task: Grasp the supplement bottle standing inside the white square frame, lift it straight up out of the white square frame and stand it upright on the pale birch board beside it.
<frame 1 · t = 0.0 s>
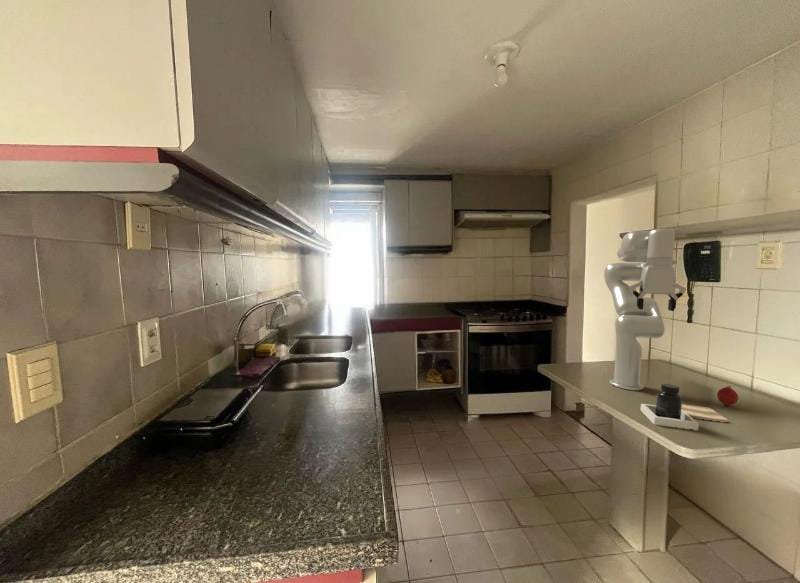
hand: (655, 309, 124), 37 cm above the countertop, tool pointing down, fingers open, 9 cm apart
supplement bottle: (667, 420, 116), resting in white square frame
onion: (726, 406, 130), on the countertop
board: (697, 413, 122), on the countertop
white square frame: (667, 419, 116), on the countertop
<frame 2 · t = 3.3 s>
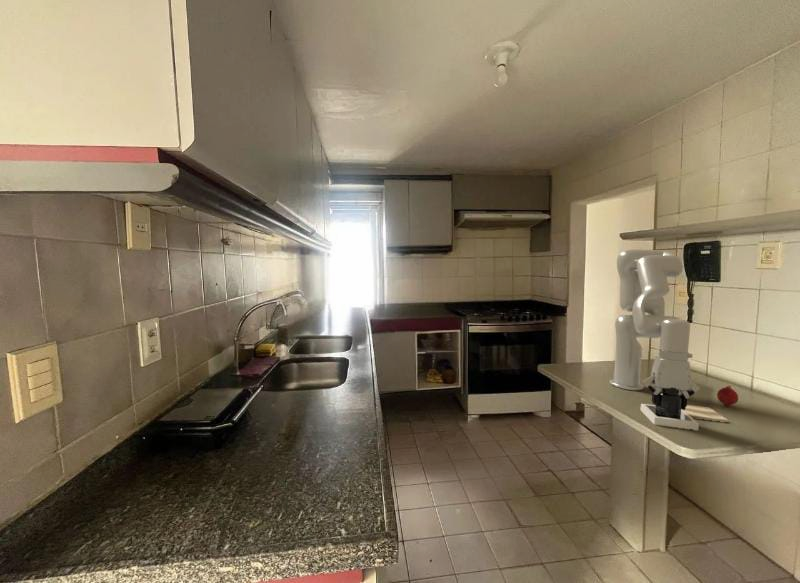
hand: (668, 406, 116), 5 cm above the countertop, tool pointing down, fingers closed on supplement bottle, 6 cm apart
supplement bottle: (667, 420, 116), resting in white square frame, touching gripper
everything else where it was.
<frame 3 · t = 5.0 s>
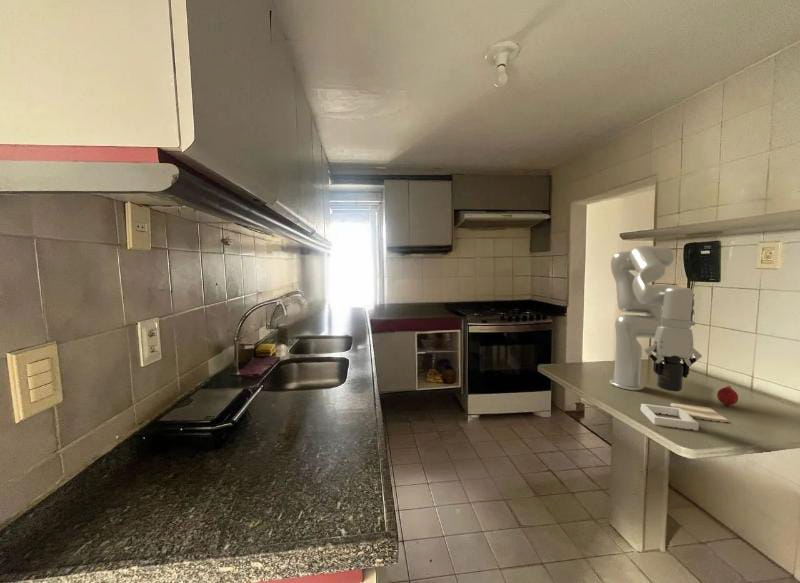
hand: (670, 374, 115), 16 cm above the countertop, tool pointing down, fingers closed on supplement bottle, 6 cm apart
supplement bottle: (668, 388, 116), point 11 cm above the countertop, touching gripper
everything else where it was.
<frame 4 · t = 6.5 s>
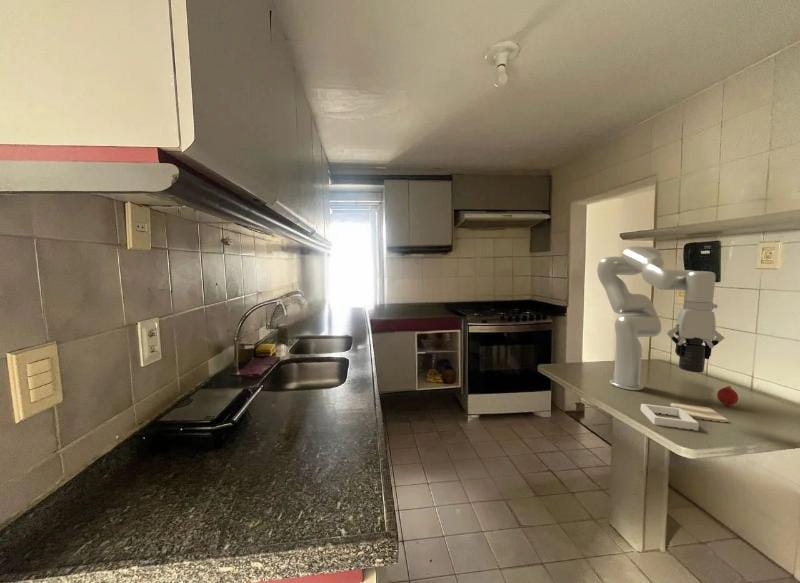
hand: (692, 356, 118), 21 cm above the countertop, tool pointing down, fingers closed on supplement bottle, 6 cm apart
supplement bottle: (690, 370, 119), point 16 cm above the countertop, touching gripper
everything else where it was.
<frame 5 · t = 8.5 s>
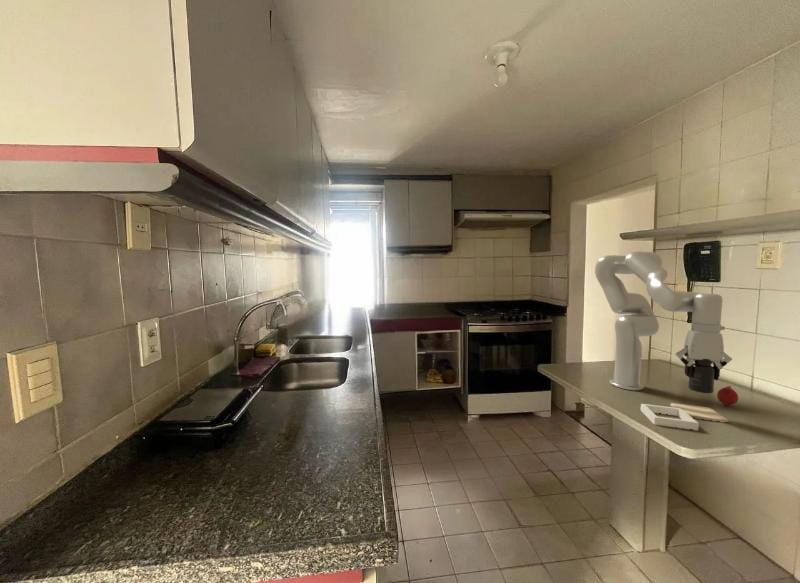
hand: (701, 377, 120), 13 cm above the countertop, tool pointing down, fingers closed on supplement bottle, 6 cm apart
supplement bottle: (700, 391, 121), point 8 cm above the countertop, touching gripper
everything else where it was.
when the fingers open (7 cm above the countertop, at t = 10.2 s): supplement bottle drops 1 cm, resting on board.
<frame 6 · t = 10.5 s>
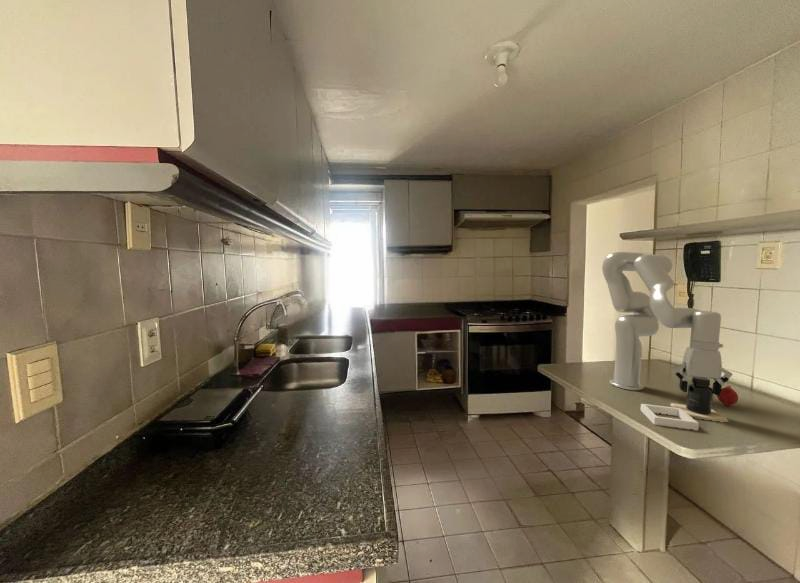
hand: (699, 392, 121), 8 cm above the countertop, tool pointing down, fingers open, 9 cm apart
supplement bottle: (698, 411, 122), point 1 cm above the countertop, touching board
everything else where it was.
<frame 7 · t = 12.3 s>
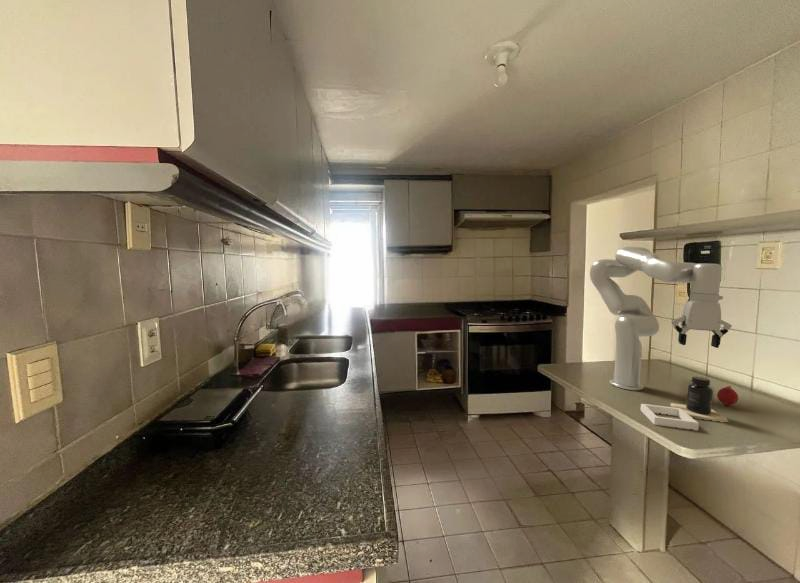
hand: (698, 345, 121), 25 cm above the countertop, tool pointing down, fingers open, 9 cm apart
nothing on the countertop moved.
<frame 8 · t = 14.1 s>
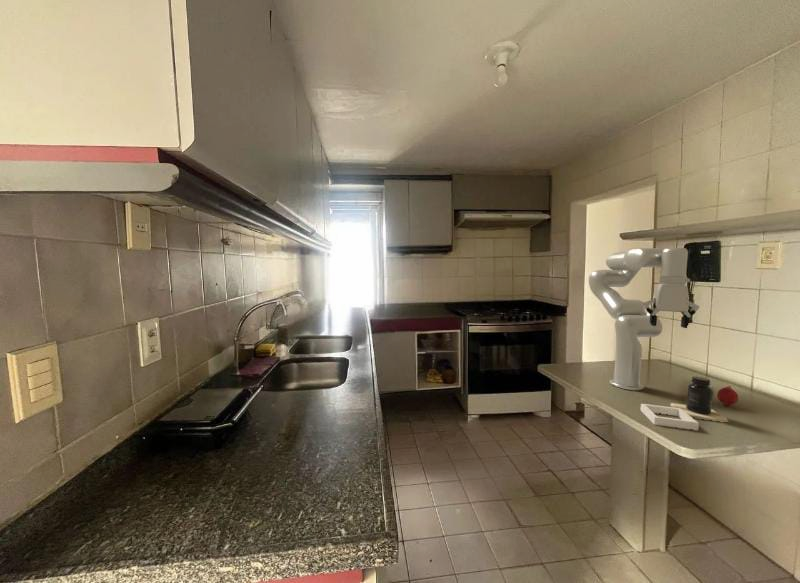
hand: (668, 326, 127), 30 cm above the countertop, tool pointing down, fingers open, 9 cm apart
nothing on the countertop moved.
at the end: supplement bottle inside the target area on the board (0.2 cm from its centre), point 0.8 cm above the board's base; supplement bottle tilted 0°; the gripper is holding nothing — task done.
